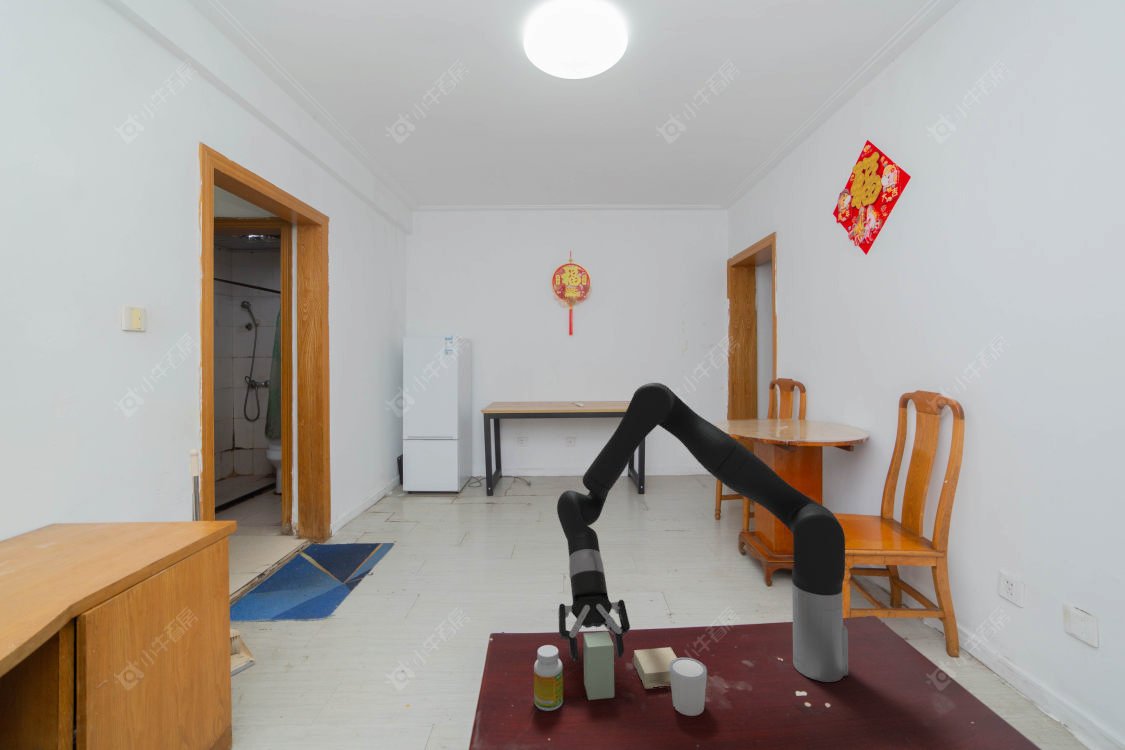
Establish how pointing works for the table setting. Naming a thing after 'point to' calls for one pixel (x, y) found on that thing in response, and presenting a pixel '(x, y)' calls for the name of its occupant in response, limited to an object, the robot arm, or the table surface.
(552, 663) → the supplement bottle
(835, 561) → the robot arm
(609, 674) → the sage brick
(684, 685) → the white cup
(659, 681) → the beech block
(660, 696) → the table surface
